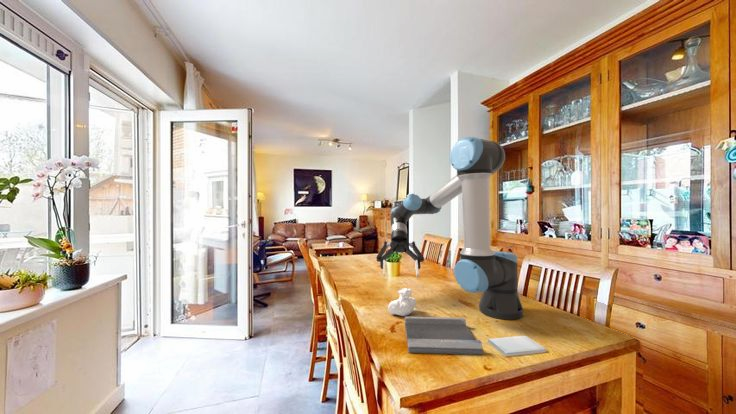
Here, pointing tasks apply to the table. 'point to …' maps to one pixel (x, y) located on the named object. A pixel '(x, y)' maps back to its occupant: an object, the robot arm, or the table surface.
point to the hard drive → (516, 346)
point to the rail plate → (440, 336)
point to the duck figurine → (402, 303)
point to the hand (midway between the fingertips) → (400, 275)
